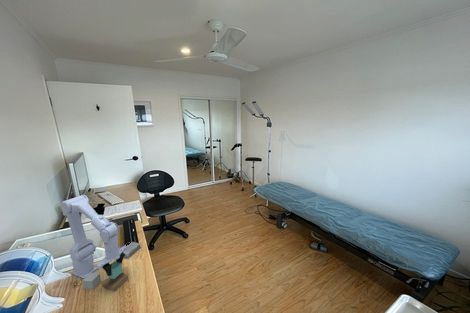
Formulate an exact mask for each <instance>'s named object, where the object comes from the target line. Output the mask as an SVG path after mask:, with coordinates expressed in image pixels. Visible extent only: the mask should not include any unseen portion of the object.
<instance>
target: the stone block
mask: <svg viewBox="0 0 470 313" xmlns="http://www.w3.org/2000/svg"><path fill="white" fill-rule="evenodd" d="M129 243H130V242H129ZM123 246H124V247H126V251H123V253H125V256H124V258H123V259H130V258H131V257H132V256H133V255H134V254H135V253H136V252H137V251H138V250H140V248H141V243H140V242H139V243H138V242H135V241H132V242H131V243H130V244H129V245H127V246H126V244H125V245H123Z"/></svg>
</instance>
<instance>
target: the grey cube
mask: <svg viewBox="0 0 470 313" xmlns="http://www.w3.org/2000/svg"><path fill="white" fill-rule="evenodd" d="M101 282H102V280H101V273H100V272H92V273H90V274H89V275H88V276H87V277H85V278H83V280H82V286H83V290H94V289H95V288H96V287H97V286H98V285H99V284H100V283H101Z"/></svg>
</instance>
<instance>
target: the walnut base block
mask: <svg viewBox="0 0 470 313" xmlns="http://www.w3.org/2000/svg"><path fill="white" fill-rule="evenodd" d="M128 280H129V275H128V274H126V273H124V272H122V273H121V274H119V275H118V276H117V277H116V278H115V279H112V278H110V277H107V278H106V279H104V280H103V282H102V281H101V282H102V283H101V285H102V288H104V289H106V290H109V291H112V292H116V291H117V290H118V289H119V288H120V287H121V286H123V284H124V283H125V282H127V281H128Z"/></svg>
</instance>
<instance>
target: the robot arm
mask: <svg viewBox="0 0 470 313" xmlns="http://www.w3.org/2000/svg"><path fill="white" fill-rule="evenodd" d="M60 209H61V211H62V212H61V213H62V215H63V216H64V217H67V222H68V225H69V228H70V231H71V235H72V238H73V241H74V243H73V245H72V247H71V248H69V252H70V254H69V255H70V256H69V257H70V259H71V261H72V267H73V271H72V272H71V274H72V275H74V276H77V277H79V278H82V279H85V278H86V277H87V276H88V275H89V274H90V273H94V272H95V271H96V270H101V269H103V270H104V272H105V273H106V276H107V275H108V276H111V267H112V265H111V262H114V261H116V262H119V263H122V264H123V261H124V259H125V258H124V256H125V253H123V251H126V247H124V245H123V246H121V247H119V241H118V234H119V233H120V227H119V225H118V224H117V223H116V222H113V221H109V220H108V219H107V218H106V217H105V216H104V215H103V214H98V212H96V210H95V209H94V207H92V206H91V204H90V199H89V197H88V196H87V195H85V194H81V195H78V196H76V197H73V198H69V199H67V200H63V201H62V202H61V203H60ZM80 213H81V214H83V215H84V216H85V217H86V218H88V219H89V220H90V224H91V225H92V227H94V228H95V229H96V231H98V232H99V236H100V238H101V241H102V243H103V246H104V254H105V256H104V257H103V259H102V260H101V261H99V263H98V264H96V265H95V264H94V257H93V256H94V254H95V252H96V250H97V247H96V246H97V245H96V244H95V243H94V240H92V239H90V238H87V235H86V231H85V228H84V225H83V222H82V218H81V215H80Z"/></svg>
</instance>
